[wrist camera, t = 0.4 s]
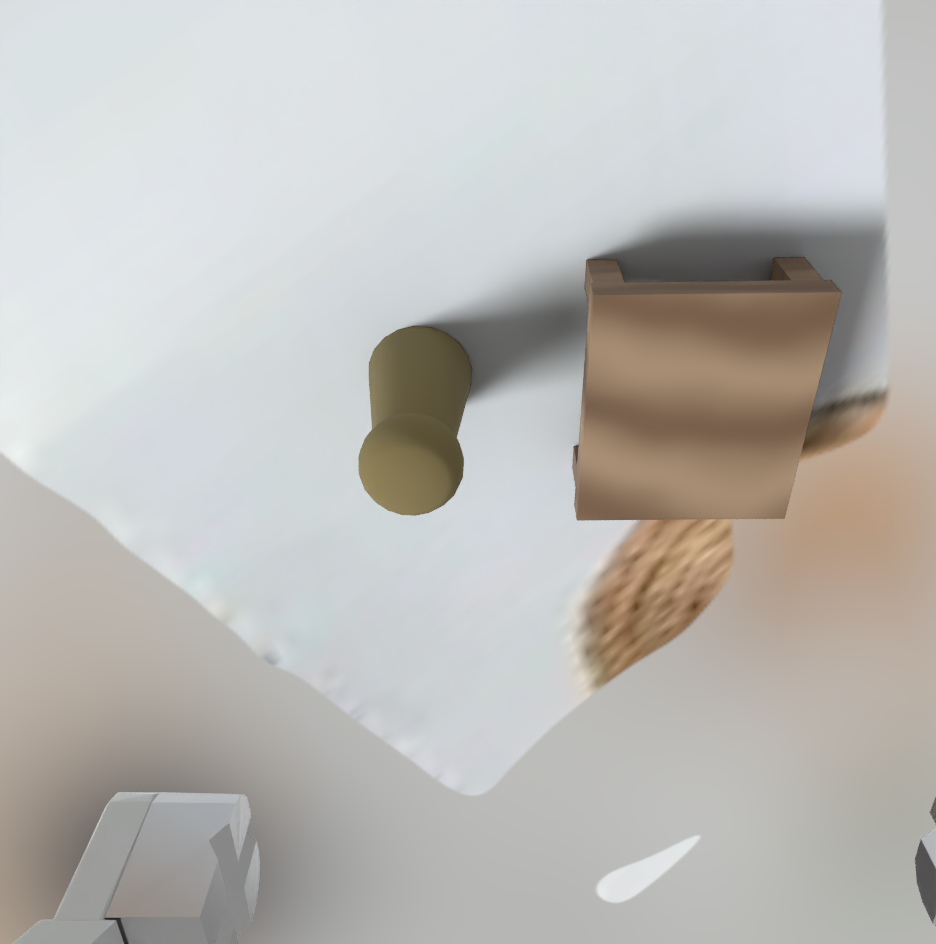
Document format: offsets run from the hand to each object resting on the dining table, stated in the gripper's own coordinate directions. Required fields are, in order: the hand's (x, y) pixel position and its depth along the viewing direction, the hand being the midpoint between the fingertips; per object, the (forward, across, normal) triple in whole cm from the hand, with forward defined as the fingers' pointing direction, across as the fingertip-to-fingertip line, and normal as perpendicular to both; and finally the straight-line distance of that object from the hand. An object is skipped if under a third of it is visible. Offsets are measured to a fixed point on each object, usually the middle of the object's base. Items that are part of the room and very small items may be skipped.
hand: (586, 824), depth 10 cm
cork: (+40, +5, +10) cm, 42 cm away
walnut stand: (+40, -10, +11) cm, 43 cm away
